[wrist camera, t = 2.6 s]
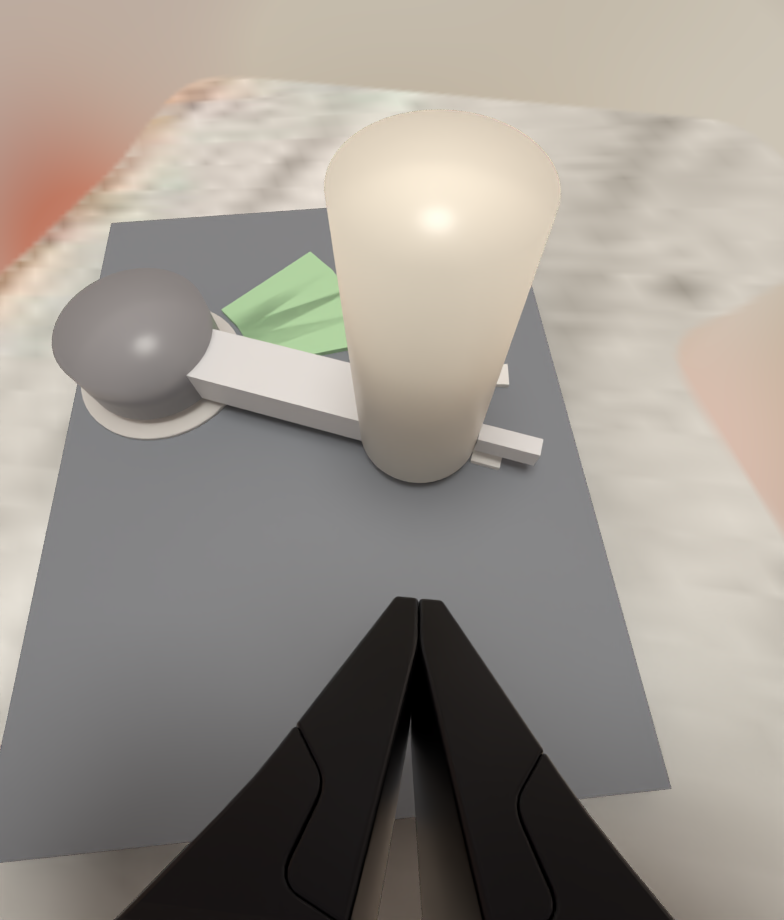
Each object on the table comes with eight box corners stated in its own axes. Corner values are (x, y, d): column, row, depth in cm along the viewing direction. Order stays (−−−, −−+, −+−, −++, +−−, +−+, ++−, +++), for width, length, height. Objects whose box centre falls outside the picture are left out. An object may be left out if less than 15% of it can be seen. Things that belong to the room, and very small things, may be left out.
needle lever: (61, 399, 17) (-258, 141, 9) (131, 295, 19) (-75, 3, 11) (520, 529, 15) (677, 351, 7) (546, 397, 17) (691, 133, 9)
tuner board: (652, 780, 13) (675, 790, 12) (5, 851, 13) (-31, 868, 12) (501, 212, 23) (507, 189, 22) (123, 239, 22) (109, 217, 21)
